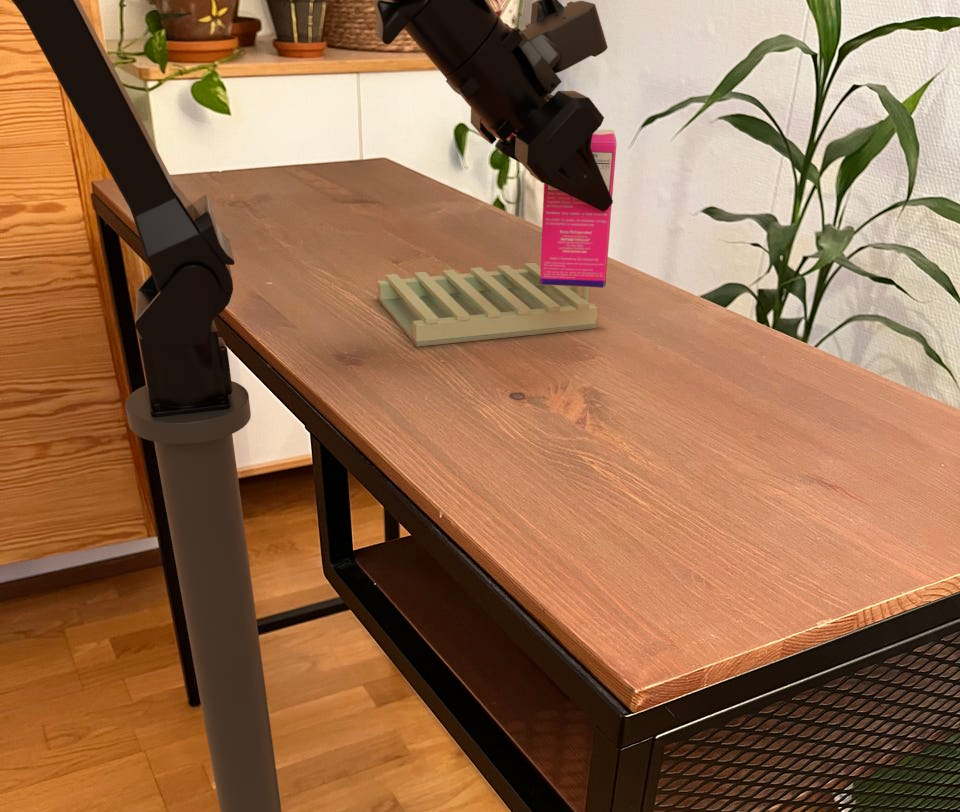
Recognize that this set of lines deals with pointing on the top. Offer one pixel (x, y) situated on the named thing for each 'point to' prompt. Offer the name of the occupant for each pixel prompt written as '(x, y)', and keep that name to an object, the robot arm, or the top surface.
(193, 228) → the robot arm
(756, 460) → the top surface
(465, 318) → the drying rack
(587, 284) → the supplement box
